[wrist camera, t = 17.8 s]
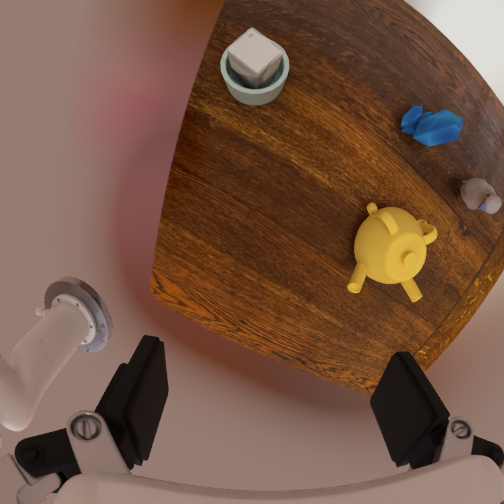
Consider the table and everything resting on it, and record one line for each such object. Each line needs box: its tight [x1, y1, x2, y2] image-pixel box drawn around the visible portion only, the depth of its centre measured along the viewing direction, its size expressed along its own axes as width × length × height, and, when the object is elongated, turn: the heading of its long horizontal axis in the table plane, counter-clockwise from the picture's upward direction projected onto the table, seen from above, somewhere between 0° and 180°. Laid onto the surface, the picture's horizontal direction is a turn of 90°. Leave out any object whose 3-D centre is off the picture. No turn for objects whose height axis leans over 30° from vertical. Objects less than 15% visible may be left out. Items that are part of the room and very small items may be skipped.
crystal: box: [401, 106, 464, 146], centre depth 34 cm, size 7×9×12 cm
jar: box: [221, 39, 289, 105], centre depth 33 cm, size 9×9×8 cm
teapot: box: [348, 202, 437, 302], centre depth 40 cm, size 14×14×11 cm
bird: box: [452, 177, 502, 214], centre depth 34 cm, size 5×14×15 cm, turn 107°
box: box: [227, 28, 284, 89], centre depth 30 cm, size 5×4×13 cm
